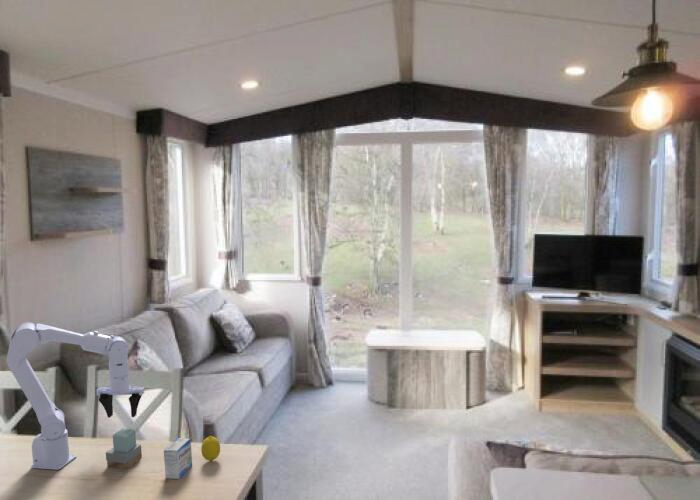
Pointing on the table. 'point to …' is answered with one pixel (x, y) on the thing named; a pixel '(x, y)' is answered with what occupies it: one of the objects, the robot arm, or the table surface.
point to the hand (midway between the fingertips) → (122, 416)
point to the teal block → (124, 440)
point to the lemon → (210, 448)
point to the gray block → (123, 455)
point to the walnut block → (122, 465)
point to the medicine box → (178, 458)
